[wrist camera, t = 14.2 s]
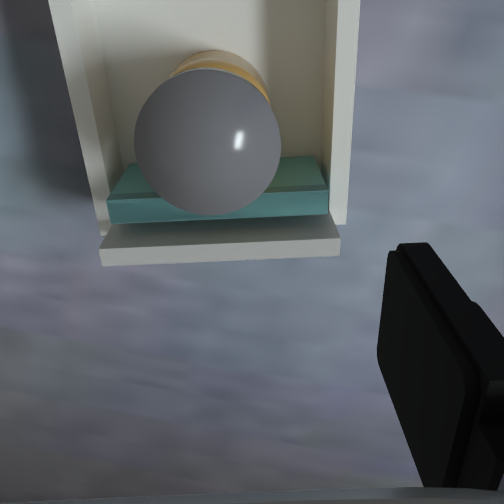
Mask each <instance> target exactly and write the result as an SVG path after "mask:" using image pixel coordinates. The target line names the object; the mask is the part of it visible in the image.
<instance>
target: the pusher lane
mask: <svg viewBox="0 0 504 504" xmlns="http://www.w3.org/2000/svg"><path fill="white" fill-rule="evenodd" d="M48 2H49V6H50V11H51V15H52V20H53V24H54V29H55V33H56V38H57V42H58V46H59V51H60V55H61V60H62V64H63V69H64V73H65V78H66V82H67V87H68V91H69V96H70V100H71V104H72V109H73V113H74V118H75V122H76V127H77V131H78V136H79V140H80V145H81V149H82V154H83V158H84V162H85V167H86V171H87V176H88V180H89V185H90V189H91V194H92V198H93V203H94V207H95V212H96V216H97V220H98V225H99V229H100V234H101V235H106V236H105V238H104V240H103V242H102V244H101V246H100V247H99V253H100V258H101V262H102V266H123V265H145V264H167V263H190V262H212V261H234V260H256V259H279V258H301V257H323V256H340V240H341V238H340V235H339V233H338V230H337V228H336V225H343V224H346V216H347V200H348V185H349V169H350V154H351V138H352V122H353V107H354V91H355V76H356V60H357V45H358V29H359V14H360V0H48ZM207 50H222V51H228V52H231V53H234V54H236V55H238V56H240V57H242V58H243V59H245V60H246V61H248V62H249V63H250V64H251V65H252V66H253V67H254V68H255V69H256V70H257V71H258V73H259V74H260V76H261V77H262V79H263V81H264V83H265V86H266V89H267V93H268V97H269V101H270V105H271V107H272V109H273V111H274V114H275V117H276V120H277V123H278V127H279V132H280V137H281V155H280V157H296V156H314V158H315V161H316V163H317V165H318V168H319V170H320V172H321V175H322V177H323V179H324V182H325V184H326V185H327V188H328V190H329V193H328V214H322V215H300V216H278V217H256V218H233V219H211V220H189V221H167V222H145V223H123V224H111V222H110V217H109V213H108V208H107V203H106V199H107V198H108V196H109V195H110V194H111V193H112V191H113V190H114V188H115V186H116V185H117V183H118V182H119V180H120V179H121V177H122V175H123V174H124V172H125V171H126V169H127V167H128V166H129V164H138V163H137V159H136V155H135V149H134V131H135V125H136V122H137V118H138V115H139V113H140V111H141V109H142V107H143V105H144V104H145V102H146V101H147V99H148V98H149V96H150V95H151V94H152V93H153V92H154V91H155V90H156V88H157V87H158V86H159V85H161V84H162V83H163V82H164V81H165V80H167V78H168V77H169V76H170V75H171V73H172V72H173V71H174V70H175V68H176V67H177V66H178V65H179V64H180V63H181V62H183V61H184V60H185V59H186V58H188V57H190V56H191V55H194V54H196V53H198V52H202V51H207Z"/></svg>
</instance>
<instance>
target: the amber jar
mask: <svg viewBox="0 0 504 504" xmlns="http://www.w3.org/2000/svg"><path fill="white" fill-rule="evenodd" d="M134 149H135V155H136V159H137V163H138V165H139V168H140V170H141V172H142V174H143V176H144V178H145V180H146V181H147V182H148V184H149V185H150V187H151V188H152V189H153V190H154V191H155V192H156V193H157V194H158V195H159V196H160V197H161V198H163V199H164V200H165V201H167V202H168V203H170V204H171V205H173V206H175V207H177V208H179V209H182V210H184V211H187V212H190V213H194V214H200V215H221V214H226V213H230V212H234V211H236V210H239V209H241V208H243V207H245V206H247V205H249V204H250V203H252V202H253V201H254V200H256V199H257V198H258V197H259V196H260V195H261V194H262V193H263V192H264V191H265V190H266V189H267V187H268V186H269V184H270V183H271V181H272V179H273V177H274V175H275V173H276V171H277V168H278V165H279V160H280V155H281V137H280V132H279V127H278V123H277V120H276V117H275V114H274V111H273V109H272V107H271V105H270V101H269V97H268V93H267V89H266V86H265V83H264V81H263V79H262V77H261V76H260V74H259V73H258V71H257V70H256V69H255V68H254V67H253V66H252V65H251V64H250V63H249V62H248V61H246V60H245V59H243V58H242V57H240V56H238V55H236V54H234V53H231V52H228V51H222V50H207V51H202V52H198V53H196V54H194V55H191V56H190V57H188V58H186V59H185V60H184V61H183V62H181V63H180V64H179V65H178V66H177V67H176V68H175V70H174V71H173V72H172V73H171V75H170V76H169V77H168V78H167V80H165V81H164V82H163V83H162V84H161V85H159V86H158V87H157V88H156V90H155V91H154V92H153V93H152V94H151V95H150V96H149V98H148V99H147V101H146V102H145V104H144V105H143V107H142V109H141V111H140V113H139V115H138V118H137V122H136V125H135V131H134Z"/></svg>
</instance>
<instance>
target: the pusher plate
mask: <svg viewBox="0 0 504 504" xmlns="http://www.w3.org/2000/svg"><path fill="white" fill-rule="evenodd" d="M328 193H329V190H328V188H327V185H326V184H325V182H324V179H323V177H322V175H321V172H320V170H319V168H318V165H317V163H316V161H315V158H314V156H296V157H280V160H279V165H278V168H277V171H276V173H275V175H274V177H273V179H272V181H271V183H270V184H269V186H268V187H267V189H266V190H265V191H264V192H263V193H262V194H261V195H260V196H259V197H258V198H257V199H256V200H254V201H253V202H252V203H250V204H249V205H247V206H245V207H243V208H241V209H239V210H236V211H234V212H230V213H226V214H221V215H200V214H194V213H190V212H187V211H184V210H182V209H179V208H177V207H175V206H173V205H171V204H170V203H168V202H167V201H165V200H164V199H163V198H161V197H160V196H159V195H158V194H157V193H156V192H155V191H154V190H153V189H152V188H151V187H150V185H149V184H148V182H147V181H146V180H145V178H144V176H143V174H142V172H141V170H140V168H139V165H138V164H129V166H128V167H127V169H126V171H125V172H124V174H123V175H122V177H121V179H120V180H119V182H118V183H117V185H116V186H115V188H114V190H113V191H112V193H111V194H110V195H109V196H108V198H107V199H106V203H107V208H108V213H109V217H110V222H111V224H123V223H145V222H167V221H189V220H211V219H233V218H256V217H278V216H300V215H322V214H328Z"/></svg>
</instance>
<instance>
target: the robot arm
mask: <svg viewBox="0 0 504 504" xmlns="http://www.w3.org/2000/svg"><path fill="white" fill-rule="evenodd" d="M377 359H378V364H379V367H380V370H381V373H382V375H383V378H384V381H385V383H386V386H387V389H388V392H389V394H390V397H391V400H392V402H393V405H394V408H395V410H396V413H397V416H398V419H399V421H400V424H401V427H402V429H403V432H404V435H405V437H406V440H407V443H408V446H409V448H410V451H411V454H412V456H413V459H414V462H415V465H416V467H417V470H418V473H419V475H420V478H421V481H422V483H423V486H424V487H397V488H356V489H315V490H289V491H265V492H240V493H216V494H192V495H167V496H144V497H122V498H100V499H78V500H57V501H36V502H15V503H0V504H504V337H503V336H502V335H501V333H500V332H499V331H498V329H497V328H496V327H495V326H494V324H493V323H492V322H491V320H490V319H489V318H488V316H487V315H486V314H485V312H484V311H483V310H482V308H481V307H480V306H479V305H478V304H477V303H476V302H473V301H471V300H470V299H469V297H468V296H467V294H466V293H465V292H464V290H463V289H462V288H461V286H460V285H459V284H458V282H457V281H456V280H455V278H454V277H453V276H452V274H451V273H450V272H449V270H448V269H447V268H446V266H445V265H444V264H443V262H442V261H441V259H440V258H439V257H438V255H437V254H436V253H435V251H434V250H433V249H432V247H431V246H430V245H429V244H428V243H425V242H424V243H403V244H399V245H398V246H397V249H396V251H390V252H389V254H388V258H387V266H386V275H385V283H384V292H383V301H382V309H381V318H380V327H379V335H378V344H377Z"/></svg>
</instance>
